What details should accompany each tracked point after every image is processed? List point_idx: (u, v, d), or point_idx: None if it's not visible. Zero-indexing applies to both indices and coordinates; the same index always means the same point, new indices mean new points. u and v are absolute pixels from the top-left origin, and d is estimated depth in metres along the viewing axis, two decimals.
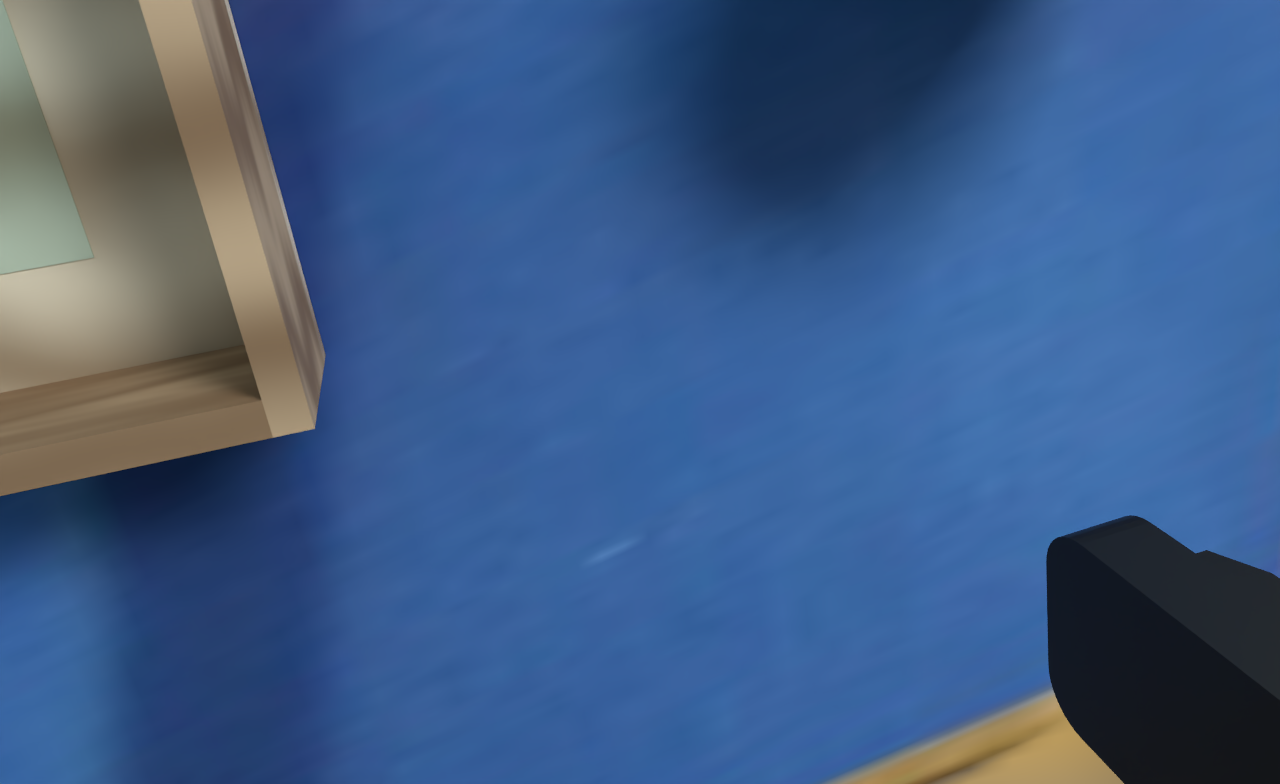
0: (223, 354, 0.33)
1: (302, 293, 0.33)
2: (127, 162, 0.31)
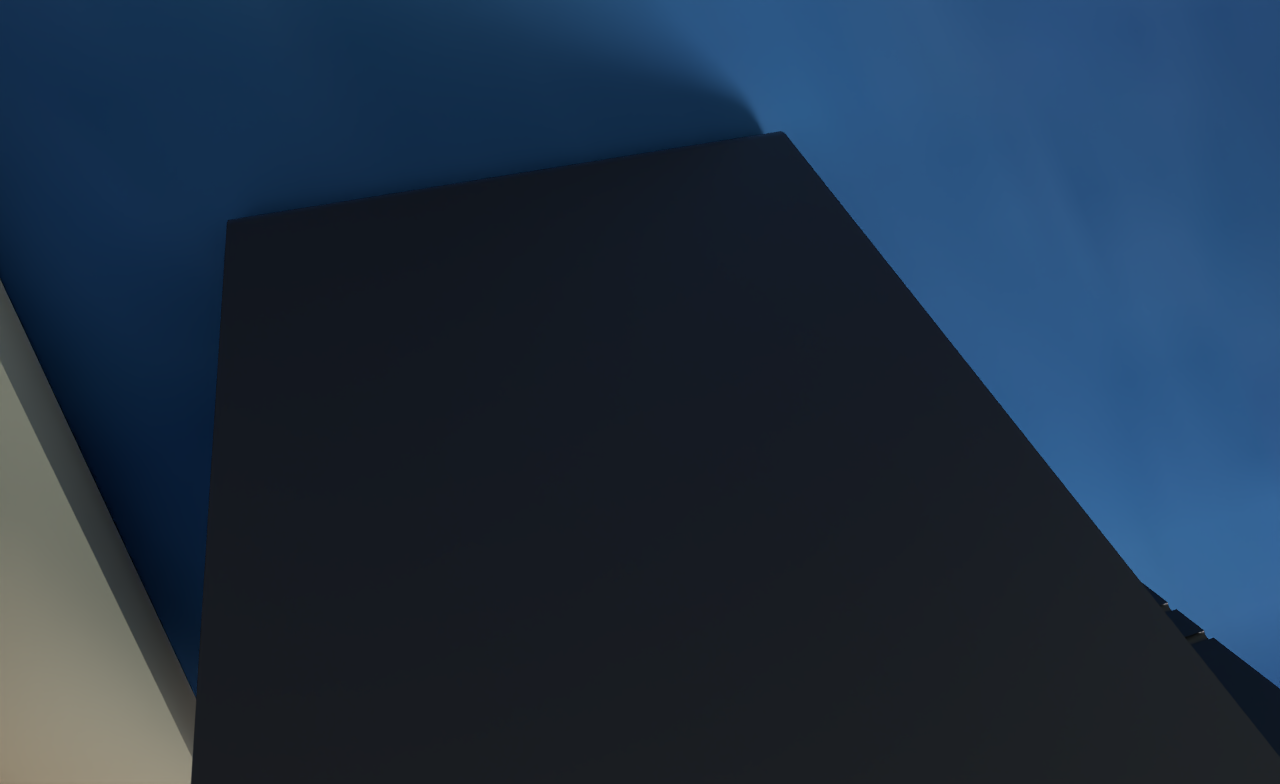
0: None
1: None
2: None
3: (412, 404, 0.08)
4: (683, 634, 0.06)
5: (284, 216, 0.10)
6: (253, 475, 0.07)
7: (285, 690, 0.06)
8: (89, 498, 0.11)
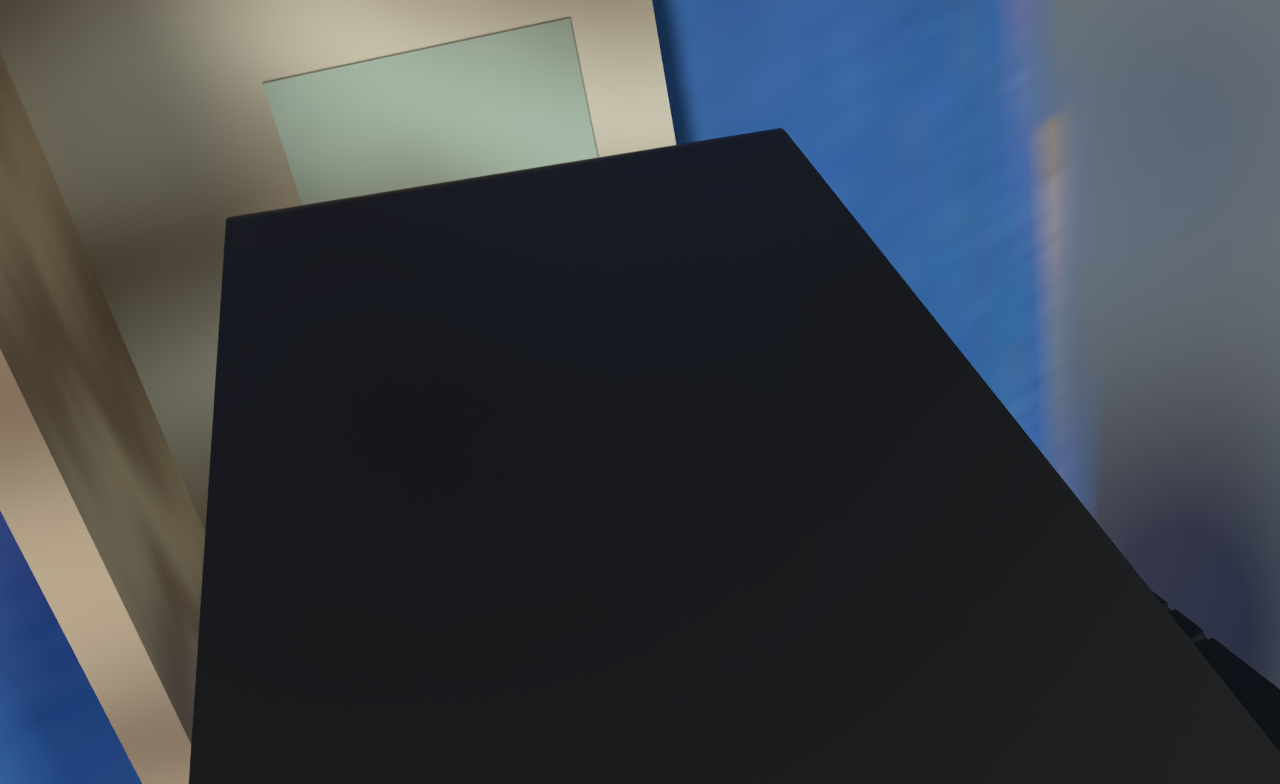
0: None
1: None
2: (219, 222, 0.23)
3: (410, 400, 0.08)
4: (682, 630, 0.06)
5: (283, 213, 0.10)
6: (252, 471, 0.07)
7: (283, 686, 0.06)
8: None
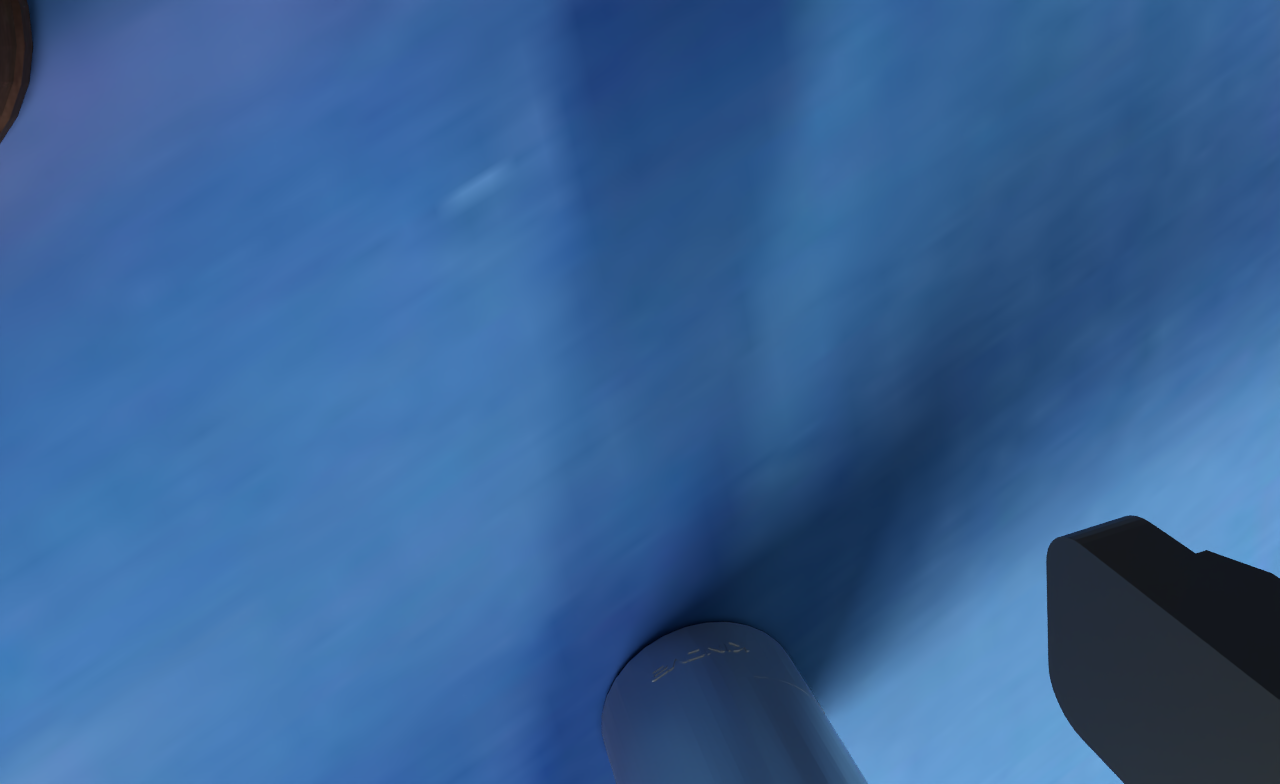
0: None
1: None
2: None
3: None
4: None
5: None
6: None
7: None
8: None
